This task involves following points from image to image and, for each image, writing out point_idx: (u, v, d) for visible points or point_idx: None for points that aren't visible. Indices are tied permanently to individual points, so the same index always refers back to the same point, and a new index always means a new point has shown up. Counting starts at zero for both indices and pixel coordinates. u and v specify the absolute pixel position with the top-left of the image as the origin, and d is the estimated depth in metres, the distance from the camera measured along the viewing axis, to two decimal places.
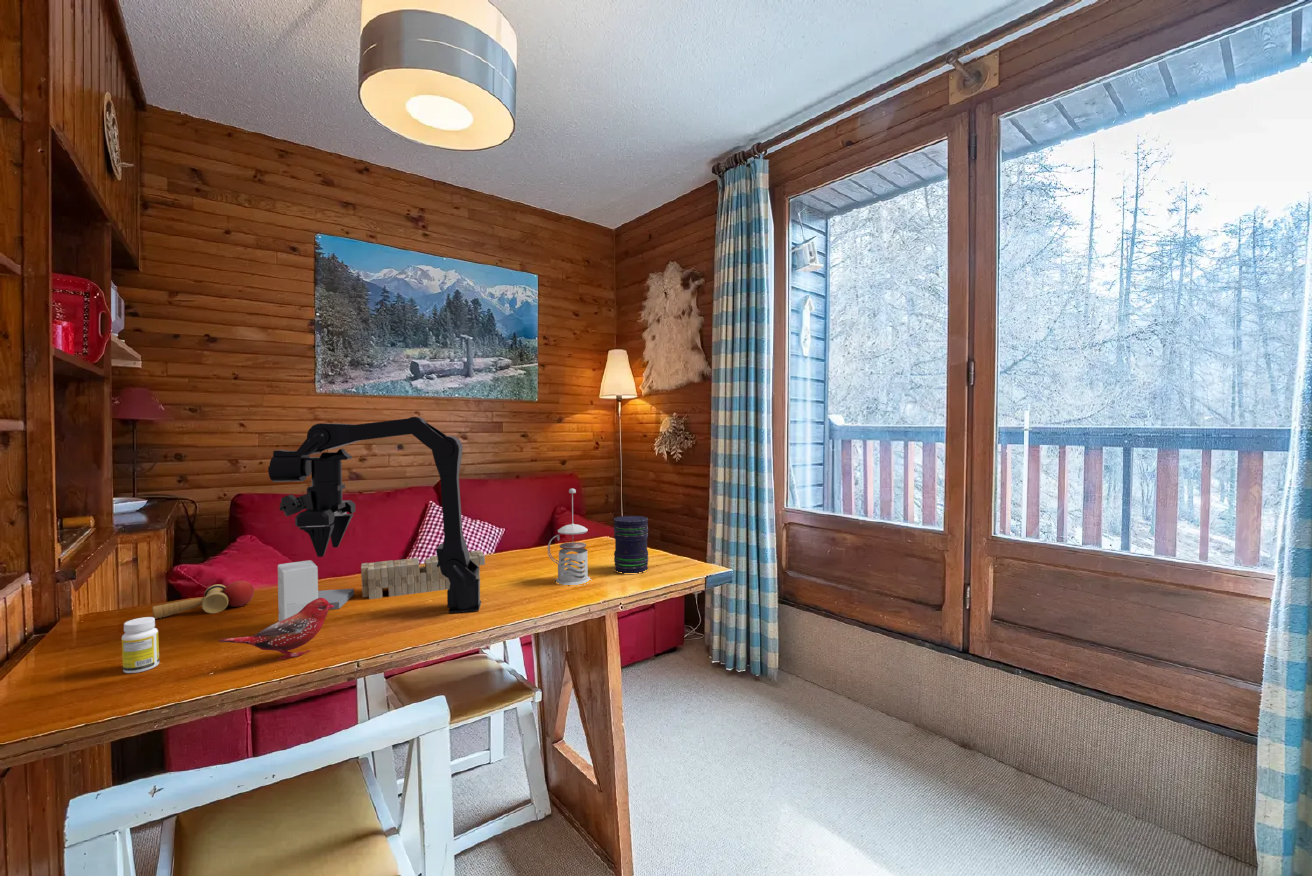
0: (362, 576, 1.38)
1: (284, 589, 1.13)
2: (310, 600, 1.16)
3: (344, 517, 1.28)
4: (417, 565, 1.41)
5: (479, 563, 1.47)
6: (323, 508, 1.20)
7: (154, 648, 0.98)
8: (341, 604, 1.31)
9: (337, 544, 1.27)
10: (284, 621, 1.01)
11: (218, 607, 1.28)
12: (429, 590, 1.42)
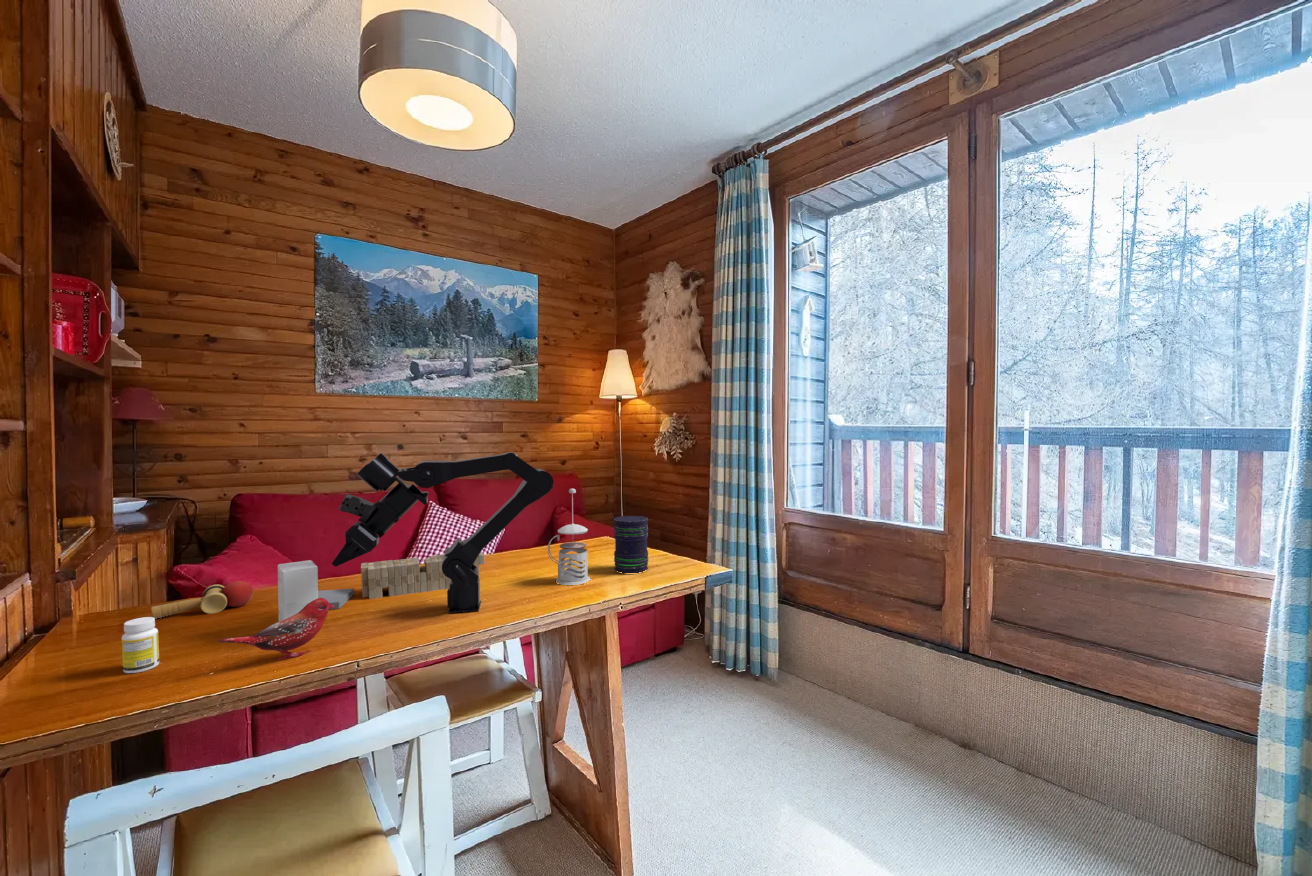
0: (362, 576, 1.38)
1: (284, 589, 1.13)
2: (310, 600, 1.16)
3: None
4: (417, 565, 1.41)
5: (479, 562, 1.48)
6: (372, 528, 1.20)
7: (154, 648, 0.98)
8: (341, 604, 1.31)
9: None
10: (284, 621, 1.01)
11: (217, 607, 1.28)
12: (429, 589, 1.42)
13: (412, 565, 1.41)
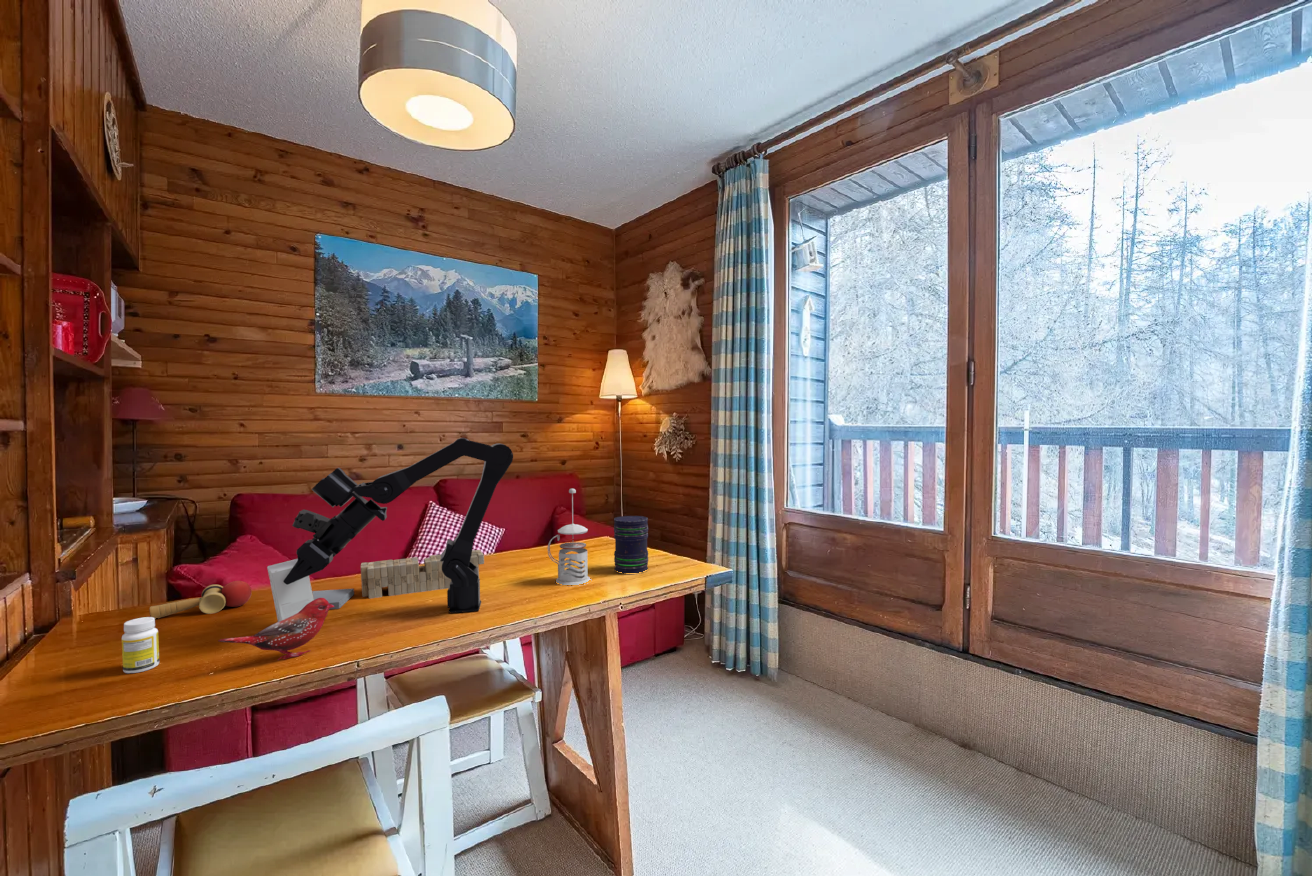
0: (362, 575, 1.38)
1: (276, 590, 1.12)
2: (305, 597, 1.15)
3: None
4: (417, 564, 1.41)
5: (478, 562, 1.48)
6: (327, 544, 1.17)
7: (154, 648, 0.98)
8: (341, 604, 1.31)
9: None
10: (284, 621, 1.01)
11: (215, 607, 1.27)
12: (429, 589, 1.43)
13: (412, 565, 1.41)
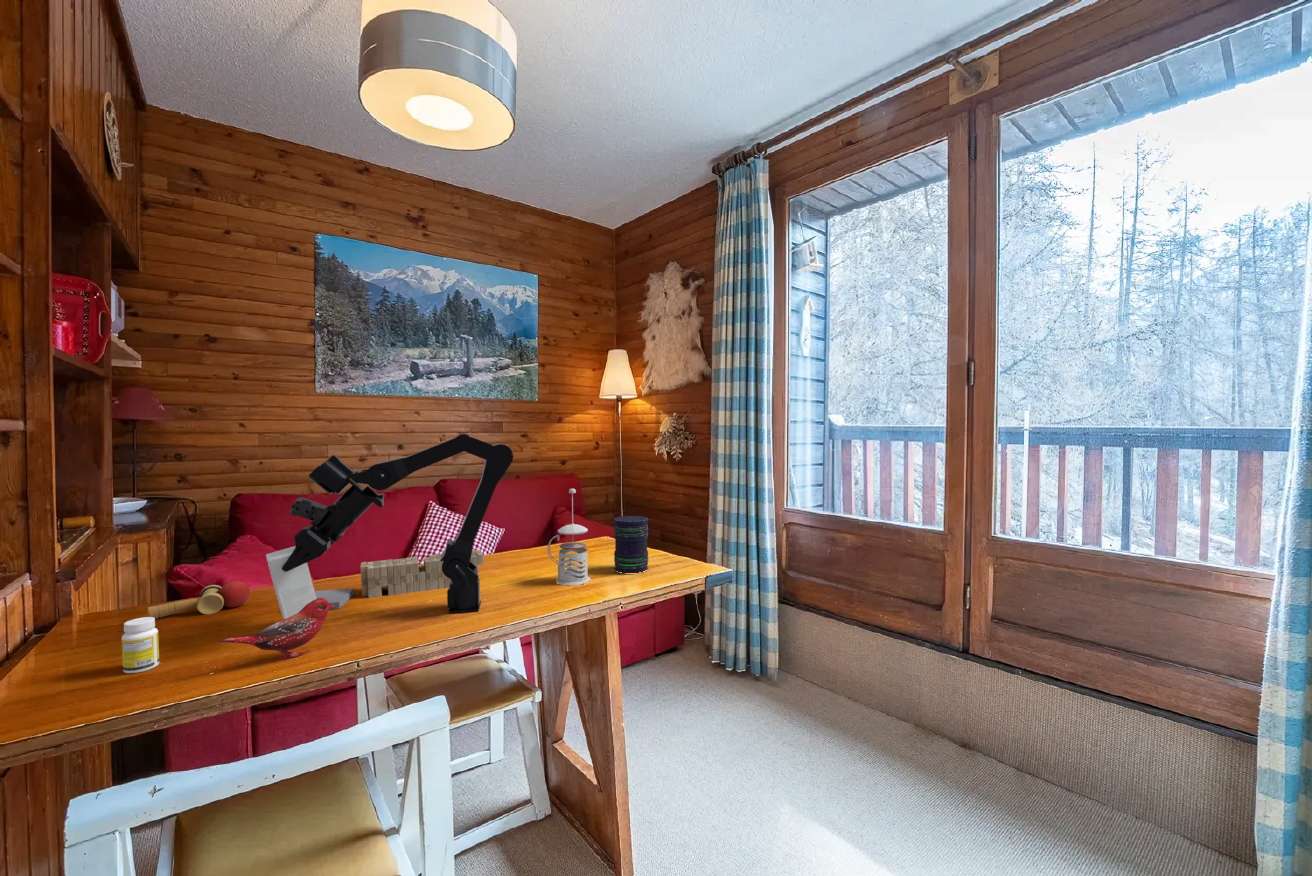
0: (361, 575, 1.39)
1: (274, 578, 1.12)
2: (304, 584, 1.15)
3: None
4: (416, 564, 1.42)
5: (478, 562, 1.49)
6: (324, 531, 1.17)
7: (154, 648, 0.98)
8: (341, 604, 1.31)
9: None
10: (284, 621, 1.01)
11: (213, 607, 1.27)
12: (428, 589, 1.43)
13: (411, 564, 1.41)
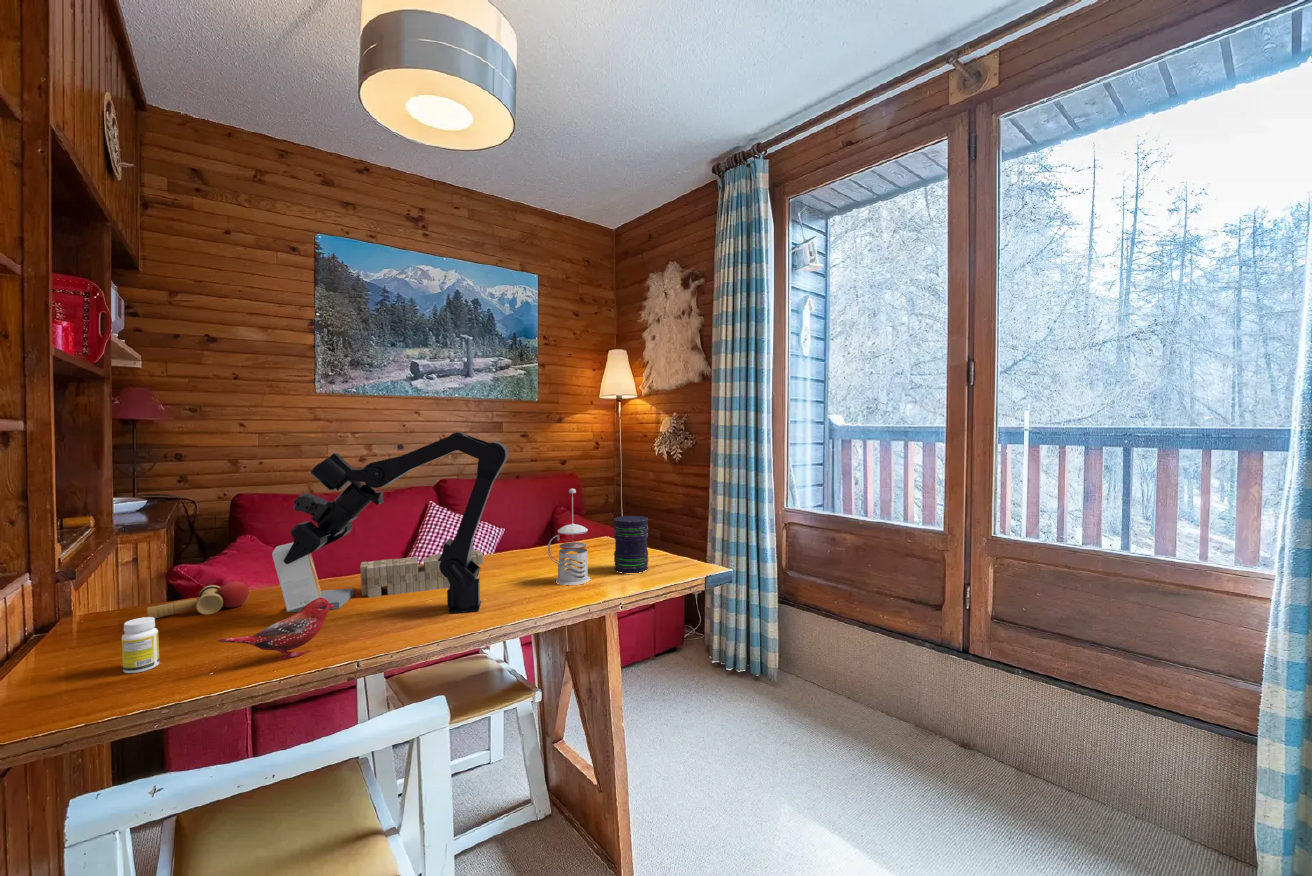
0: (361, 574, 1.39)
1: (277, 569, 1.18)
2: (305, 577, 1.20)
3: (334, 536, 1.29)
4: (416, 564, 1.42)
5: (477, 562, 1.48)
6: (324, 527, 1.21)
7: (154, 648, 0.98)
8: (341, 604, 1.31)
9: None
10: (284, 621, 1.01)
11: (212, 608, 1.27)
12: (428, 589, 1.43)
13: (411, 564, 1.41)
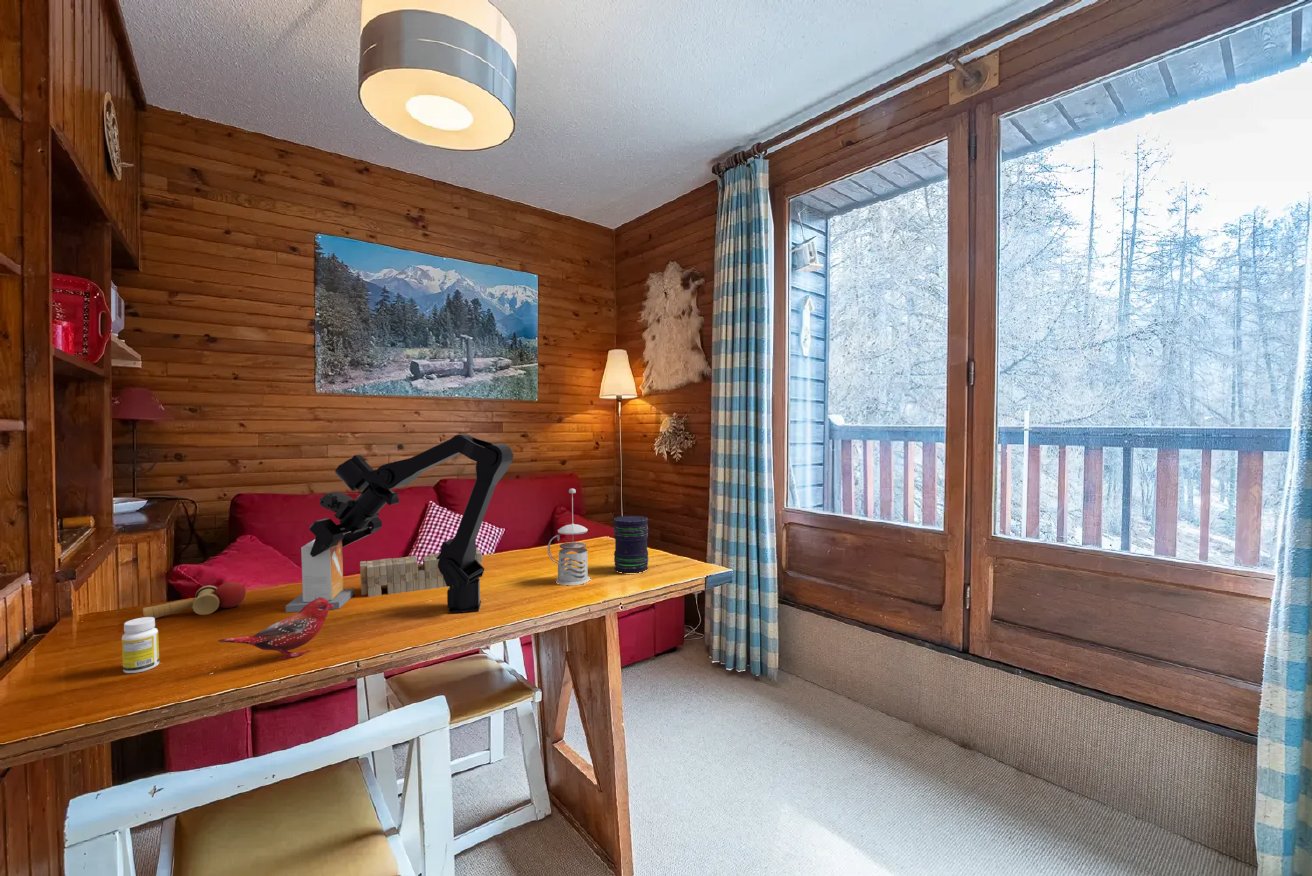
0: (361, 574, 1.39)
1: (302, 562, 1.28)
2: (324, 575, 1.29)
3: (362, 532, 1.37)
4: (416, 563, 1.43)
5: None
6: (344, 524, 1.29)
7: (154, 648, 0.98)
8: (341, 604, 1.31)
9: None
10: (284, 621, 1.01)
11: (209, 608, 1.27)
12: (427, 587, 1.44)
13: (411, 563, 1.42)
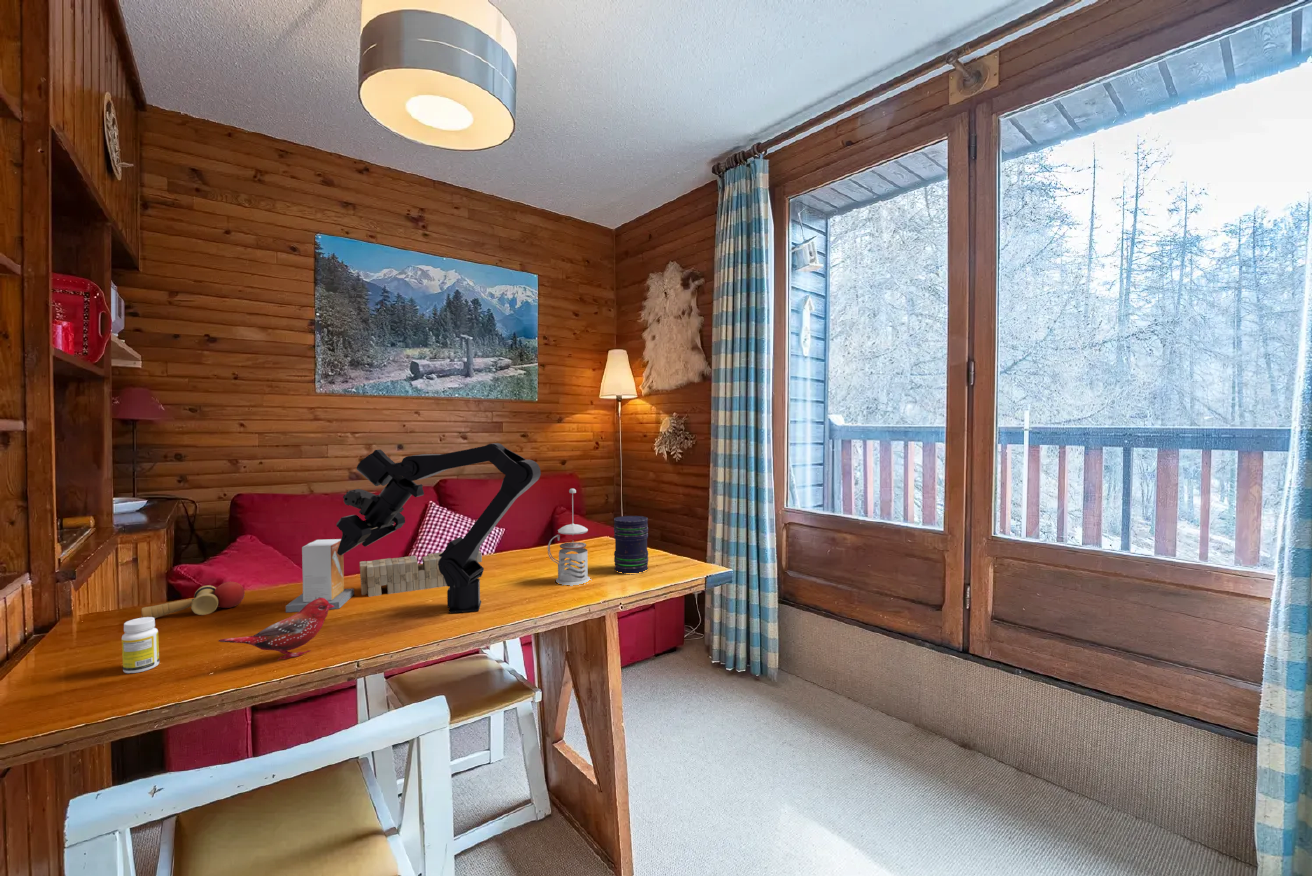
0: (361, 574, 1.40)
1: (303, 562, 1.29)
2: (324, 575, 1.30)
3: (386, 529, 1.35)
4: (416, 563, 1.43)
5: (476, 560, 1.50)
6: (370, 519, 1.27)
7: (154, 648, 0.98)
8: (341, 604, 1.31)
9: (366, 544, 1.35)
10: (284, 621, 1.01)
11: (208, 608, 1.27)
12: (427, 587, 1.45)
13: (411, 563, 1.43)
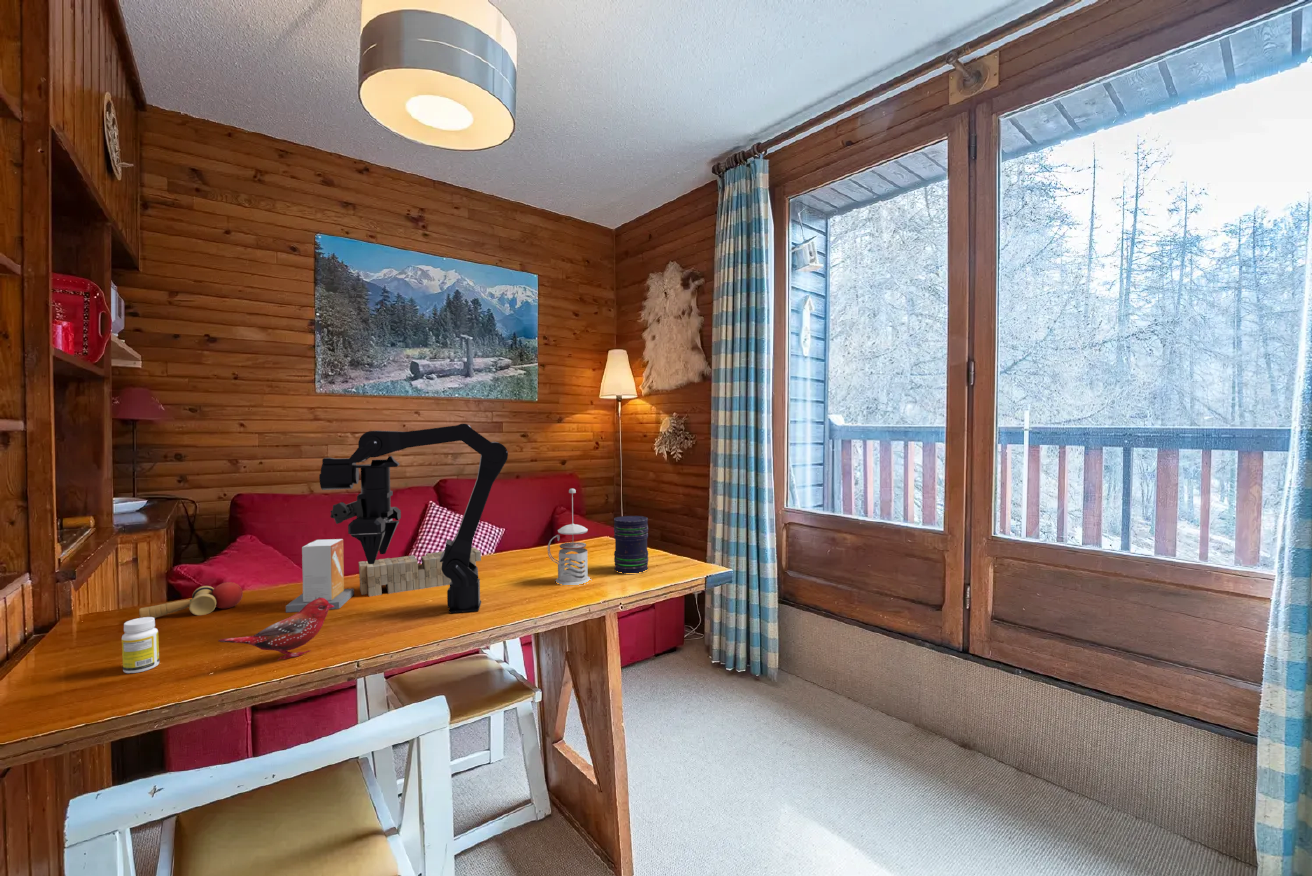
0: (361, 574, 1.40)
1: (303, 562, 1.29)
2: (324, 575, 1.30)
3: (391, 524, 1.28)
4: (416, 562, 1.44)
5: (475, 559, 1.52)
6: (373, 515, 1.20)
7: (154, 648, 0.98)
8: (341, 604, 1.31)
9: (384, 551, 1.27)
10: (284, 621, 1.01)
11: (206, 609, 1.26)
12: (427, 586, 1.45)
13: (411, 562, 1.43)
